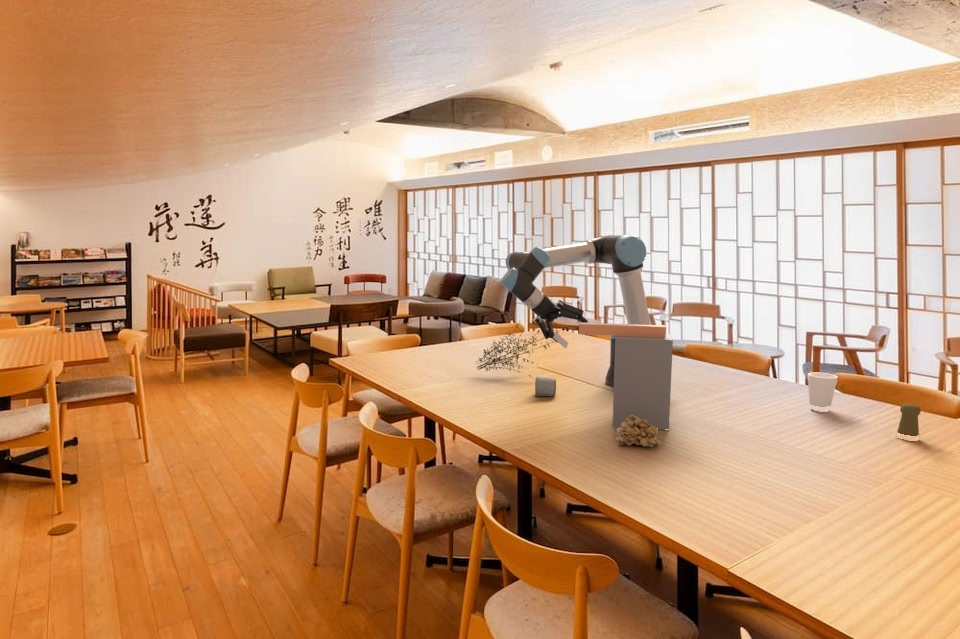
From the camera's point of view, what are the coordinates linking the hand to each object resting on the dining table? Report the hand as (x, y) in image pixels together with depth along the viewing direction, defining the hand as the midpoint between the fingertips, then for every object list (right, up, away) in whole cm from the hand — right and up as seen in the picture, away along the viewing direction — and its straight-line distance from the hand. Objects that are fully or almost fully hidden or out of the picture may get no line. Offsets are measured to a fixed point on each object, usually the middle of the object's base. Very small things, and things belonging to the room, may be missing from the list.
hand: (579, 338), depth 227 cm
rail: (+11, +2, -23) cm, 25 cm away
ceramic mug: (-11, -23, +16) cm, 31 cm away
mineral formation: (+12, -31, -39) cm, 51 cm away
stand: (+18, -28, -20) cm, 39 cm away
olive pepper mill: (+97, -31, -36) cm, 108 cm away
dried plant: (-18, -19, +47) cm, 54 cm away
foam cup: (+87, -26, -5) cm, 91 cm away
